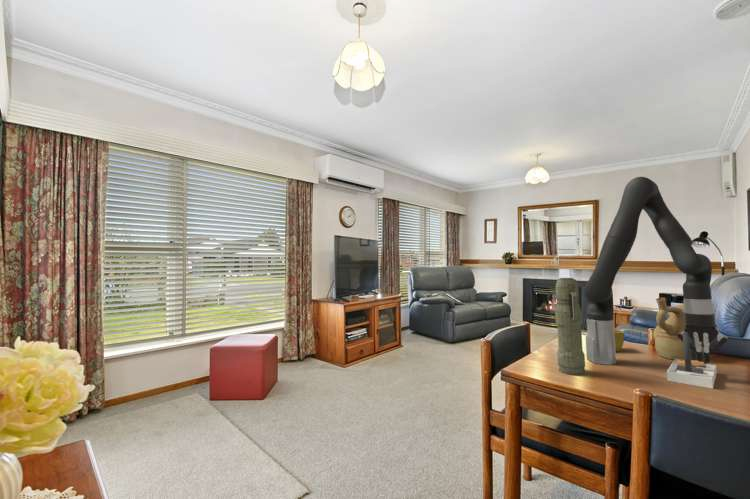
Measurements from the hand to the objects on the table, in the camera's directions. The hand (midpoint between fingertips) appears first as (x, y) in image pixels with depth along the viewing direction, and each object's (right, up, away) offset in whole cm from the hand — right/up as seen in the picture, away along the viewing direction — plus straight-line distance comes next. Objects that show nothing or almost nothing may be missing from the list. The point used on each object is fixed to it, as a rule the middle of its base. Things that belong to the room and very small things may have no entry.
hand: (704, 363), depth 115 cm
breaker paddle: (-2, -1, +2) cm, 3 cm away
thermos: (-38, -8, +12) cm, 41 cm away
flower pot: (-5, -7, +39) cm, 40 cm away
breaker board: (-2, -6, +2) cm, 6 cm away
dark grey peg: (-8, -3, -3) cm, 9 cm away
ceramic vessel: (+13, -6, +25) cm, 29 cm away
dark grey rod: (+4, -3, +8) cm, 9 cm away
